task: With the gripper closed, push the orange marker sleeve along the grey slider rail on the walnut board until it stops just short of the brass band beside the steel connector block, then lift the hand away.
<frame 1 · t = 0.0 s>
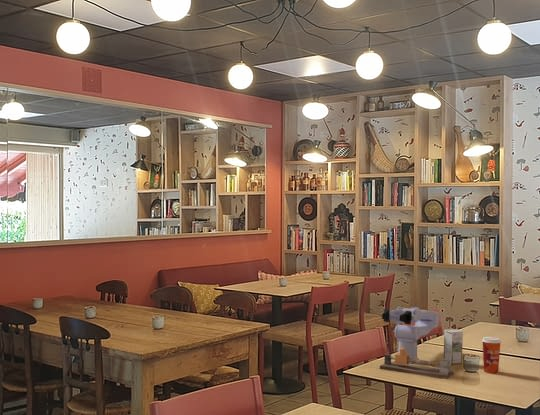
hand: (391, 317, 272), 22 cm above the table, tool horizontal, fingers open, 7 cm apart
grey slider rail: (416, 371, 269), on the table
paper cup: (491, 372, 270), on the table
syrup box: (452, 363, 286), on the table
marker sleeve: (402, 356, 272), point 5 cm above the table, slide at -6.0 cm
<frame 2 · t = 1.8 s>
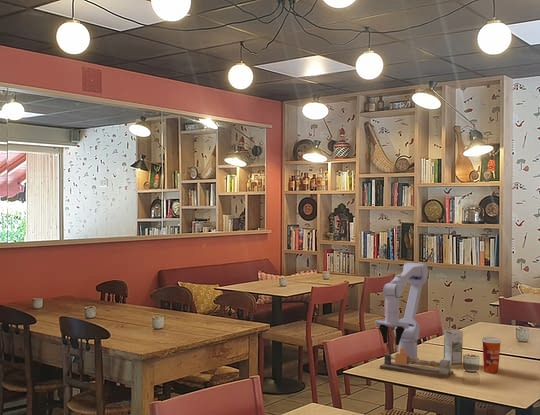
hand: (391, 343, 275), 10 cm above the table, tool pointing down, fingers open, 5 cm apart
nothing on the table moved.
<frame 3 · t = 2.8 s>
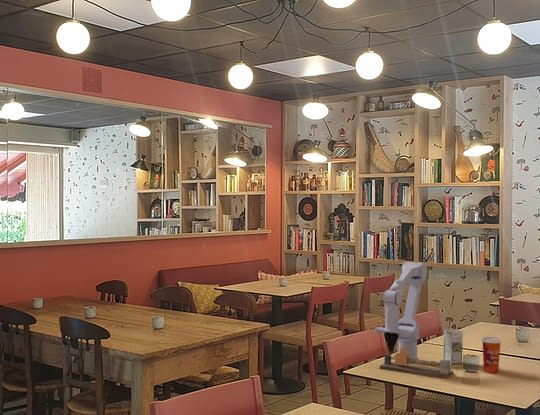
hand: (391, 351, 275), 7 cm above the table, tool pointing down, fingers closed
nothing on the table moved.
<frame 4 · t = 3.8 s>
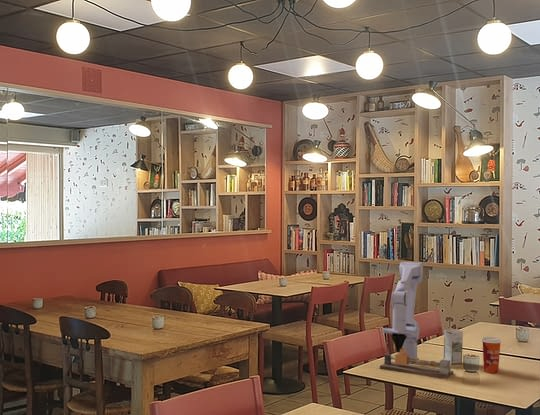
hand: (398, 352, 273), 7 cm above the table, tool pointing down, fingers closed
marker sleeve: (402, 356, 272), point 5 cm above the table, slide at -6.0 cm, touching gripper
everything else where it was.
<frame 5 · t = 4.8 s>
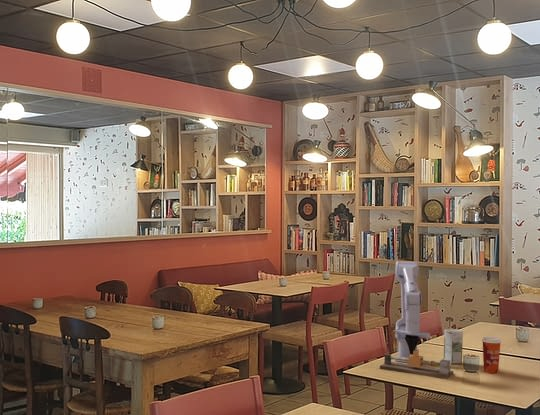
hand: (412, 353, 270), 7 cm above the table, tool pointing down, fingers closed
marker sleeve: (415, 357, 269), point 5 cm above the table, slide at -0.2 cm, touching gripper
everything else where it was.
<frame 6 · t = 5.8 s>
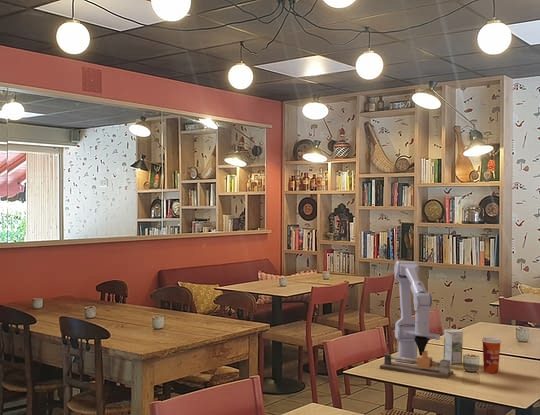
hand: (421, 355, 268), 7 cm above the table, tool pointing down, fingers closed
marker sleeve: (424, 359, 267), point 5 cm above the table, slide at 3.6 cm, touching gripper
everything else where it was.
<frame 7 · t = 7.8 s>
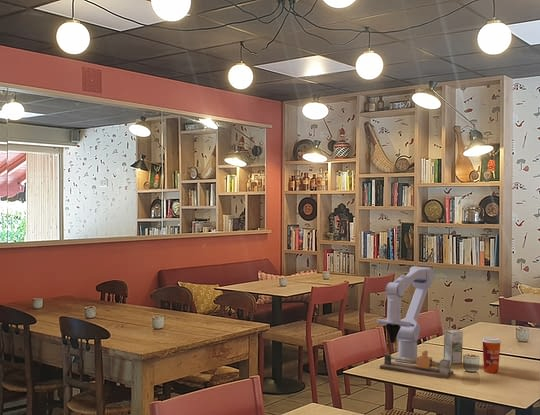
hand: (392, 342, 278), 10 cm above the table, tool pointing down, fingers closed
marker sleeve: (424, 359, 267), point 5 cm above the table, slide at 3.6 cm
everything else where it was.
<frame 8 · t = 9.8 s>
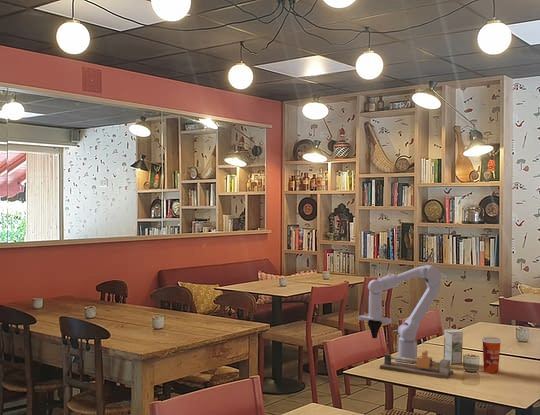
hand: (374, 337, 287), 10 cm above the table, tool pointing down, fingers closed
nothing on the table moved.
at the end: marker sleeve slide at 3.6 cm; the gripper is holding nothing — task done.
